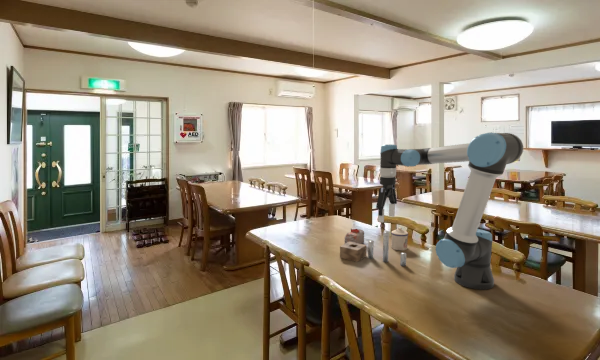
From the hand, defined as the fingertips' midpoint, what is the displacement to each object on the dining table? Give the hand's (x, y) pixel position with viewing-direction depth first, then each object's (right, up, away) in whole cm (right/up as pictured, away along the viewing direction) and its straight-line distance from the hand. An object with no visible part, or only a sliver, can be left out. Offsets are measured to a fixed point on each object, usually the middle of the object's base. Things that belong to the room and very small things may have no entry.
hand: (386, 219), depth 166 cm
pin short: (+7, -22, -3) cm, 24 cm away
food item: (-11, -19, +27) cm, 35 cm away
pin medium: (-6, -21, +7) cm, 23 cm away
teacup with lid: (+13, -19, +24) cm, 33 cm away
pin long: (0, -21, +3) cm, 22 cm away
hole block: (-15, -21, +9) cm, 27 cm away
